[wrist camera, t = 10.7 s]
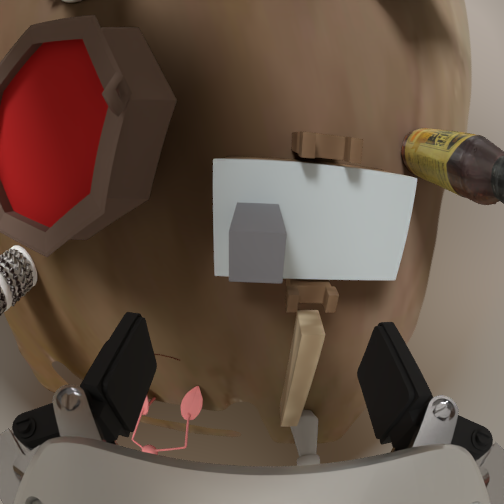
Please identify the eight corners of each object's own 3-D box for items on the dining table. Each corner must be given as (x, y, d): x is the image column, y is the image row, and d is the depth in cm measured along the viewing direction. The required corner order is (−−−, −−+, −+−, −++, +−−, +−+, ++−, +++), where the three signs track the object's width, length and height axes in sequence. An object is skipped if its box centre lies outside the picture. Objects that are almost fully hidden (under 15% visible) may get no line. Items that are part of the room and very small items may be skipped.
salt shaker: (284, 413, 48) (287, 467, 36) (309, 404, 47) (316, 460, 35) (297, 423, 50) (302, 473, 38) (321, 414, 49) (329, 465, 37)
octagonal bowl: (193, 16, 21) (138, -58, 6) (205, 211, 31) (154, 286, 16) (39, 73, 22) (-45, 71, 8) (54, 226, 32) (-22, 278, 17)
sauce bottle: (434, 127, 26) (560, 151, 8) (437, 174, 28) (554, 229, 10) (392, 128, 26) (525, 146, 8) (398, 178, 29) (519, 242, 11)
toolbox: (226, 263, 34) (216, 309, 25) (227, 129, 27) (213, 128, 18) (364, 267, 34) (392, 310, 25) (383, 144, 27) (429, 153, 18)
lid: (217, 265, 28) (201, 322, 19) (216, 157, 23) (193, 170, 15) (388, 271, 28) (425, 320, 19) (407, 174, 23) (462, 197, 15)
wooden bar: (279, 405, 34) (280, 426, 31) (297, 310, 27) (301, 334, 23) (295, 404, 34) (297, 426, 31) (318, 310, 27) (325, 334, 23)
